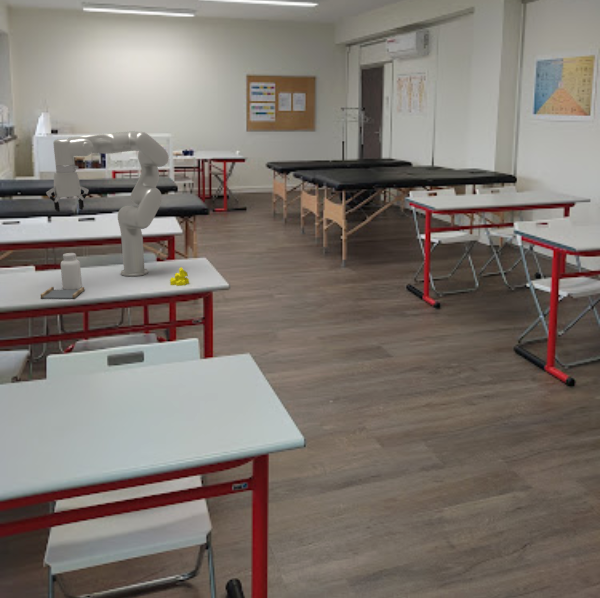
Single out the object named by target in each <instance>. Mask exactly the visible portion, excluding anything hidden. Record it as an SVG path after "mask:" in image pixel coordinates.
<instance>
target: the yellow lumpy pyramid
mask: <svg viewBox="0 0 600 598" xmlns="http://www.w3.org/2000/svg"><path fill="white" fill-rule="evenodd" d="M188 277H189V276H188V272H187V271H186V270H185V269H184V268H183V267H182V266H181V267H180V268H178V272H176V273H175V274H174V277H172V276H171V278H170V279H169V284H170V286H176V287H178V286H179V287H180V286H182V287H183V286H186V285H187V284H190V279H189V278H188Z"/></svg>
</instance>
